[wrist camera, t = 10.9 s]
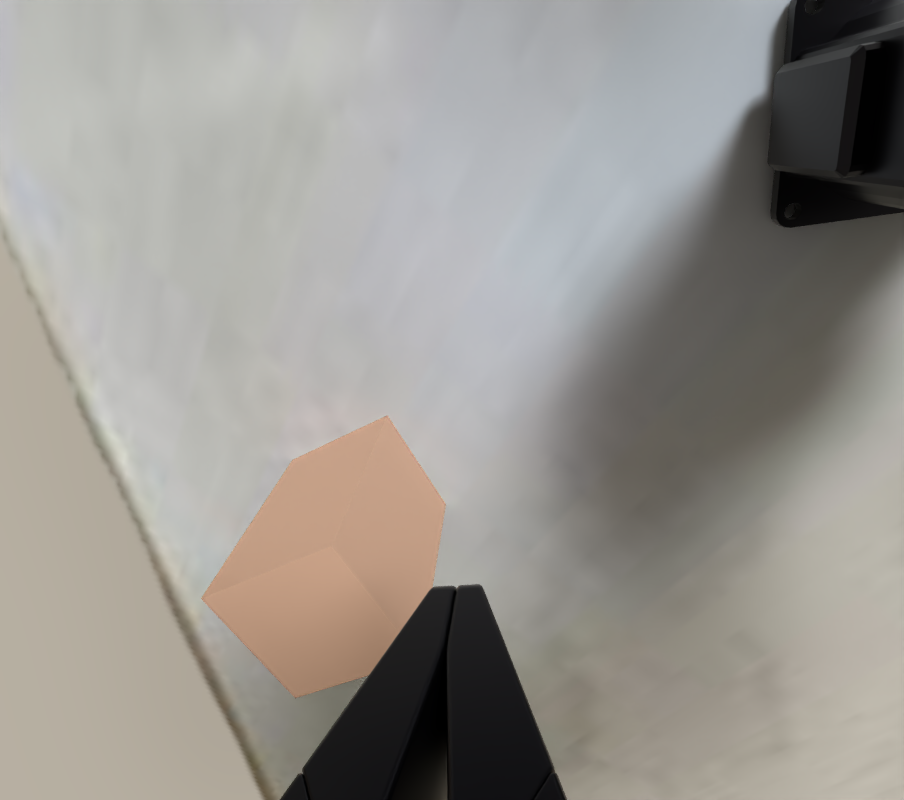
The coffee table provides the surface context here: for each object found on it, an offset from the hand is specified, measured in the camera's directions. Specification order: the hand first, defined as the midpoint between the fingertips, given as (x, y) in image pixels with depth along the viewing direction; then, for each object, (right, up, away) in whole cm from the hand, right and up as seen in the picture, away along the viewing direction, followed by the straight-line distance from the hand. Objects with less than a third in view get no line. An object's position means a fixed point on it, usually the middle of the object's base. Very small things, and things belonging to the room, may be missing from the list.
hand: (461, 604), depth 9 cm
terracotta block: (-4, 0, +15) cm, 16 cm away
